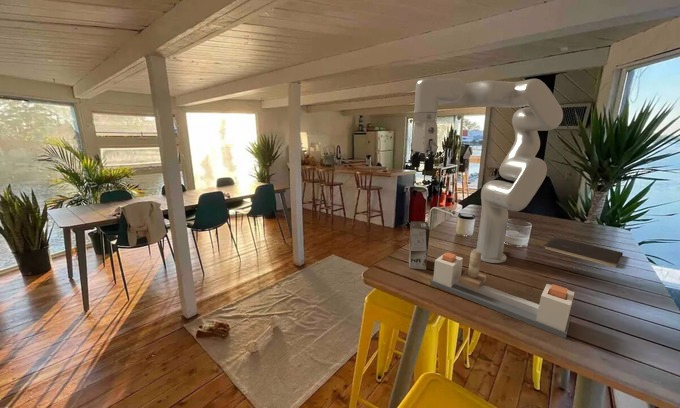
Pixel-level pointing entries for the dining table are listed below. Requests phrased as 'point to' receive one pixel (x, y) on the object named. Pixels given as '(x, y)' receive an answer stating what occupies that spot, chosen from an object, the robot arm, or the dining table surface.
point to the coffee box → (418, 245)
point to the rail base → (501, 307)
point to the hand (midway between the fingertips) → (421, 168)
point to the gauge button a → (449, 257)
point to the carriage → (473, 272)
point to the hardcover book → (584, 251)
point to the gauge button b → (558, 291)
